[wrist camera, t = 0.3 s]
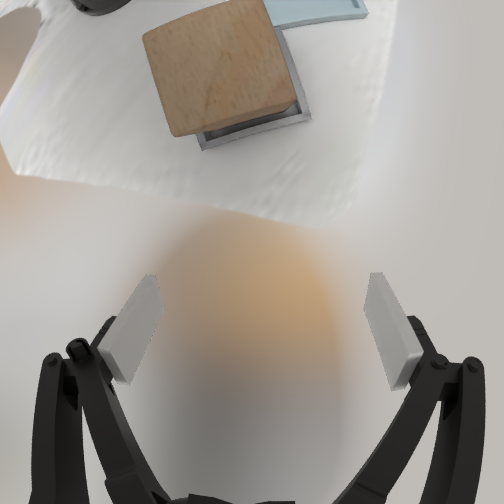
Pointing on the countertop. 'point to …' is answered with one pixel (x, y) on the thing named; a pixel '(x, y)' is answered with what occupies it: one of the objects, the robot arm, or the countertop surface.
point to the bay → (304, 114)
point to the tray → (312, 11)
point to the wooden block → (219, 67)
